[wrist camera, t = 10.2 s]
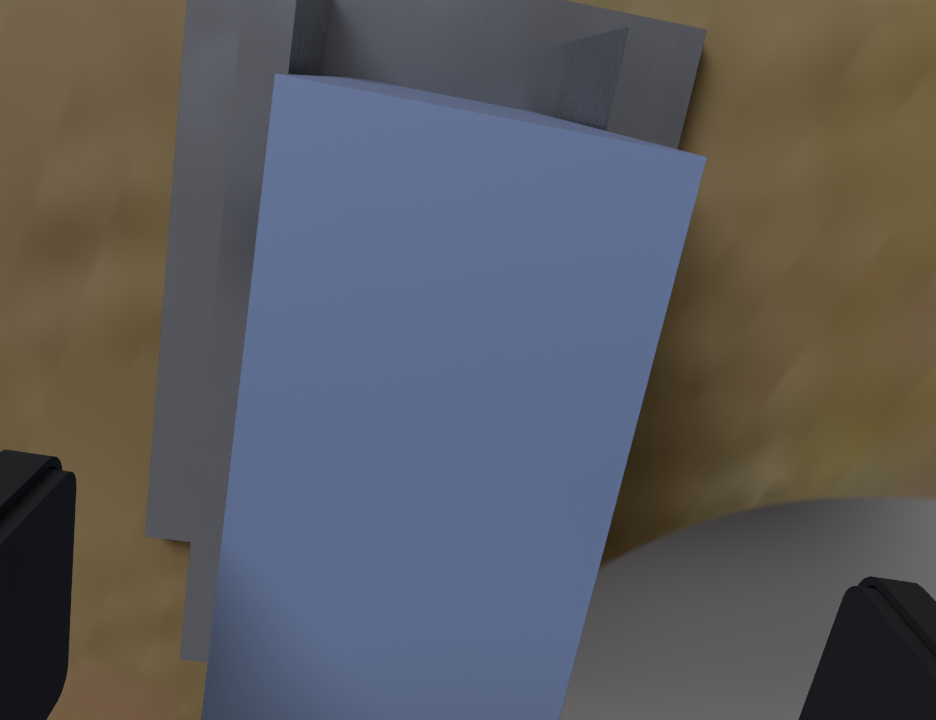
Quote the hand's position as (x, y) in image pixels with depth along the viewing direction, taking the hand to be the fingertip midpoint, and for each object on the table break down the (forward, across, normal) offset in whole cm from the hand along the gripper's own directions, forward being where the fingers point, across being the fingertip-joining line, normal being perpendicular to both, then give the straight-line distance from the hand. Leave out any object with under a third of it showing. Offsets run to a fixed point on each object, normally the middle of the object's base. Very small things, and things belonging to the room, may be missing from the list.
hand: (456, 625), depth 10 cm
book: (+16, +1, 0) cm, 16 cm away
